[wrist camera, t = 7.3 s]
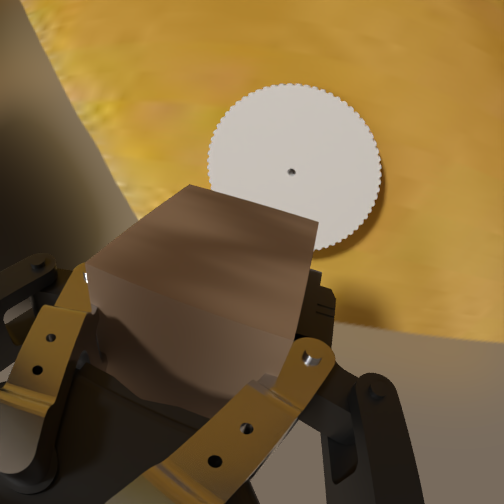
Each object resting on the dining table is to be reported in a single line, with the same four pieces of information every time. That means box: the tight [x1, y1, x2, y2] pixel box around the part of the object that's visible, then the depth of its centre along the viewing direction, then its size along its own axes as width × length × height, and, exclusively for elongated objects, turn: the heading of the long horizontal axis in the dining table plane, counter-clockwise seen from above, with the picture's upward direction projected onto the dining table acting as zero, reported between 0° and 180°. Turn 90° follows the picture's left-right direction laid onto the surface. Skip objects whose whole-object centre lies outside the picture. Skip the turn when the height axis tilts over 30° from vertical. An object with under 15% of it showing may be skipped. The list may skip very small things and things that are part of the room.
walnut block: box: [85, 184, 319, 419], centre depth 10 cm, size 5×5×6 cm
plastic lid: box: [207, 83, 381, 250], centre depth 25 cm, size 14×14×2 cm
